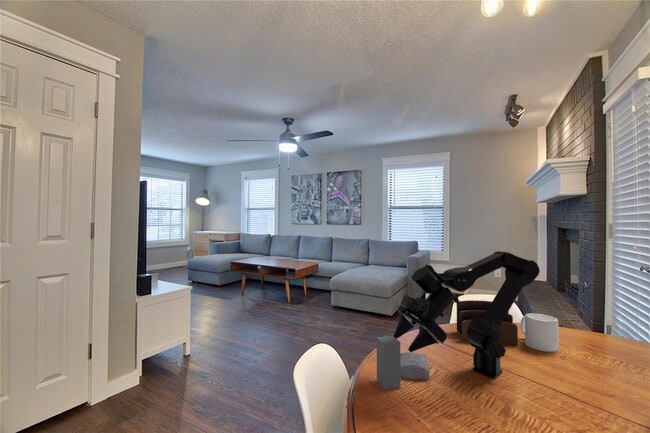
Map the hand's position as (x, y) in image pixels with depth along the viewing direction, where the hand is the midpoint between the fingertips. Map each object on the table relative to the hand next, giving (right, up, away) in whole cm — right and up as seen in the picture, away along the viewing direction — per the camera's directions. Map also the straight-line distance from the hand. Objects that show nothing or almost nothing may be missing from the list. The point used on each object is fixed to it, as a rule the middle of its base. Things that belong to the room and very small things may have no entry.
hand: (401, 344), depth 84 cm
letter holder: (+43, -12, +33) cm, 55 cm away
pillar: (-4, -11, -1) cm, 12 cm away
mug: (+59, -12, +26) cm, 66 cm away
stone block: (+5, -12, +7) cm, 15 cm away
